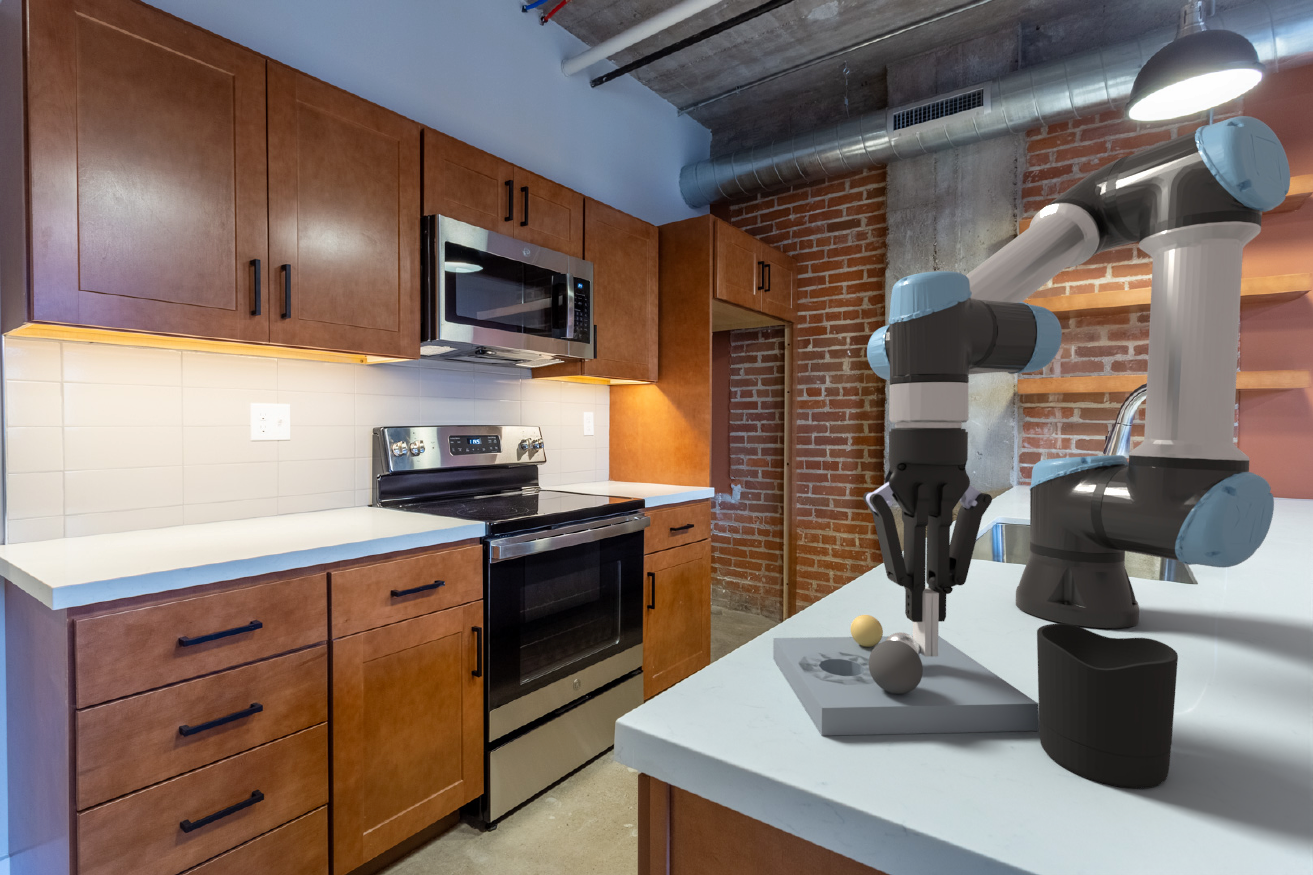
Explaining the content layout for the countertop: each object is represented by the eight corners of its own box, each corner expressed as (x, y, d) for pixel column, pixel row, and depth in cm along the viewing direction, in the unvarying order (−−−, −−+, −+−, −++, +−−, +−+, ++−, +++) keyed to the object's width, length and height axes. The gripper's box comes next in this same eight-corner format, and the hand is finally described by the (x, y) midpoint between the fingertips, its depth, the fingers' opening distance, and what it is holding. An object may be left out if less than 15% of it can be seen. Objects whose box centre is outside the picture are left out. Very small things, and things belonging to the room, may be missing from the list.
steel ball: (896, 621, 67) (872, 642, 67) (912, 631, 63) (886, 654, 63) (916, 645, 67) (892, 666, 67) (933, 657, 63) (908, 680, 63)
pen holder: (1103, 729, 57) (1105, 621, 57) (1207, 788, 48) (1210, 660, 48) (1009, 736, 56) (1011, 625, 55) (1098, 799, 46) (1101, 666, 46)
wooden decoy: (875, 640, 73) (875, 610, 73) (887, 651, 69) (888, 620, 69) (845, 640, 73) (846, 610, 73) (857, 651, 69) (857, 620, 69)
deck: (938, 656, 75) (938, 635, 75) (1037, 730, 57) (1038, 703, 57) (773, 658, 74) (773, 637, 73) (821, 735, 56) (821, 707, 56)
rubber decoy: (908, 680, 61) (908, 632, 61) (932, 702, 57) (933, 650, 57) (860, 681, 61) (861, 633, 61) (880, 703, 56) (881, 651, 56)
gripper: (967, 426, 69) (965, 638, 69) (853, 425, 68) (851, 640, 68) (1010, 426, 61) (1007, 664, 62) (881, 426, 60) (879, 666, 61)
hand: (925, 651), depth 65 cm, fingers closed
